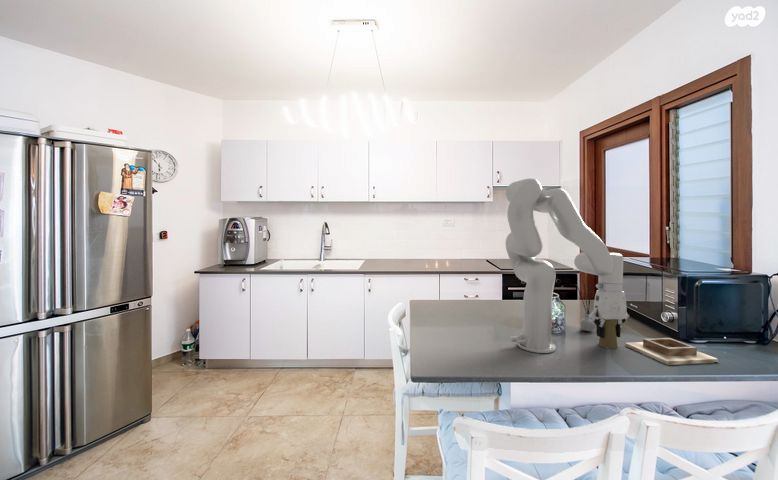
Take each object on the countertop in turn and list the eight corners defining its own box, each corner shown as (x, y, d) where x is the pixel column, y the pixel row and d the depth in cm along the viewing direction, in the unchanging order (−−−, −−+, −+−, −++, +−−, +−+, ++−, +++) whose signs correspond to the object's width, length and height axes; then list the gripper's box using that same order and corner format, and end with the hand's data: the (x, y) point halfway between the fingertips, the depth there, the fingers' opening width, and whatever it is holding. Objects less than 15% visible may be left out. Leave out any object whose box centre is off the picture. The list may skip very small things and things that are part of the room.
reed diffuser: (597, 335, 149) (599, 285, 148) (578, 334, 151) (580, 284, 149) (588, 327, 159) (590, 280, 158) (571, 326, 161) (572, 280, 160)
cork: (617, 349, 133) (618, 318, 132) (597, 346, 136) (599, 316, 135) (617, 344, 138) (618, 315, 137) (598, 341, 141) (599, 312, 140)
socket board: (667, 364, 119) (668, 353, 118) (625, 345, 137) (625, 335, 136) (717, 362, 121) (718, 351, 121) (669, 344, 139) (670, 334, 139)
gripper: (595, 289, 131) (593, 340, 132) (639, 288, 133) (637, 339, 134) (581, 285, 138) (579, 334, 139) (624, 285, 140) (622, 332, 141)
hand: (608, 336), depth 137 cm, fingers open, 5 cm apart
